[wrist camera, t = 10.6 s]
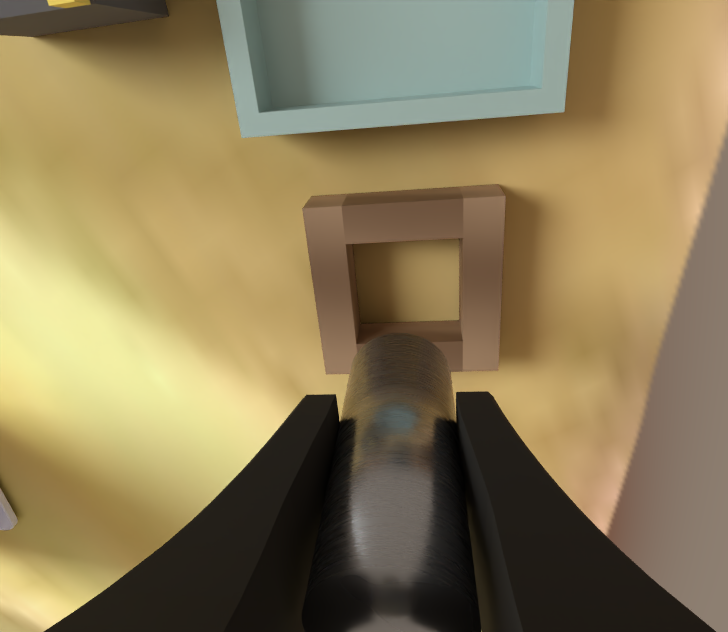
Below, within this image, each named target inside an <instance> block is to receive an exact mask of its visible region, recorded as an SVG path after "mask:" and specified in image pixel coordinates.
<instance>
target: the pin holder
mask: <svg viewBox="0 0 728 632" xmlns="http://www.w3.org/2000/svg"><path fill="white" fill-rule="evenodd" d="M505 200H506V196H505V194H504V193H503V191H502V190H501V188H500V186H499V185H498V184H495V185H479V186H464V187H448V188H433V189H417V190H402V191H386V192H371V193H355V194H340V195H325V196H311V198H310V199H309V200H308V202H307V203H306V204H305V206H304V207H303V208H302V210H303V217H304V224H305V231H306V238H307V245H308V252H309V259H310V266H311V273H312V280H313V287H314V294H315V301H316V308H317V315H318V322H319V329H320V336H321V343H322V350H323V357H324V364H325V371H326V374H350V370H351V365H352V362H353V360H354V357H355V356H356V354H357V352H358V351H359V350H360V349H361V348H362V347H363V346H364V345H365V344H366V343H368V342H369V341H371V340H372V339H374V338H377V337H379V336H382V335H385V334H390V333H408V334H413V335H417V336H420V337H422V338H425V339H427V340H428V341H430V342H432V343H433V344H434V345H436V346H437V347H438V348H439V349H440V350H441V351H442V353H443V354H444V356H445V357H446V359H447V361H448V364H449V367H450V372H459V371H498V367H499V343H500V319H501V296H502V272H503V248H504V224H505ZM455 238H459V320H458V321H428V322H398V323H368V324H360V314H359V304H358V294H357V285H356V275H355V265H354V255H353V245H352V244H360V243H379V242H398V241H417V240H436V239H455Z"/></svg>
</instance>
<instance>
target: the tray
mask: <svg viewBox="0 0 728 632" xmlns="http://www.w3.org/2000/svg"><path fill="white" fill-rule="evenodd" d="M216 2H217V8H218V13H219V19H220V24H221V29H222V35H223V40H224V45H225V51H226V56H227V62H228V67H229V72H230V78H231V83H232V88H233V94H234V99H235V105H236V110H237V115H238V121H239V126H240V131H241V137H242V138H247V137H260V136H272V135H285V134H297V133H310V132H322V131H334V130H347V129H359V128H372V127H384V126H397V125H409V124H422V123H434V122H447V121H459V120H472V119H484V118H497V117H509V116H521V115H534V114H546V113H559V112H564V110H565V99H566V88H567V76H568V65H569V54H570V42H571V31H572V20H573V8H574V0H216Z"/></svg>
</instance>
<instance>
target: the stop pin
mask: <svg viewBox="0 0 728 632" xmlns="http://www.w3.org/2000/svg"><path fill="white" fill-rule="evenodd" d="M302 625H303V628H304V631H305V632H481V621H480V612H479V604H478V596H477V588H476V579H475V571H474V563H473V554H472V546H471V538H470V530H469V521H468V513H467V505H466V496H465V488H464V480H463V472H462V465H461V459H460V450H459V442H458V434H457V425H456V414H455V405H454V397H453V389H452V380H451V372H450V367H449V364H448V361H447V359H446V357H445V356H444V354H443V353H442V351H441V350H440V349H439V348H438V347H437V346H436V345H434V344H433V343H432V342H430V341H428V340H427V339H425V338H422V337H420V336H417V335H413V334H408V333H390V334H385V335H382V336H379V337H377V338H374V339H372V340H371V341H369V342H368V343H366V344H365V345H364V346H363V347H362V348H361V349H360V350H359V351H358V352H357V354H356V356H355V357H354V360H353V362H352V365H351V370H350V375H349V380H348V385H347V390H346V395H345V400H344V405H343V410H342V415H341V420H340V425H339V430H338V435H337V440H336V445H335V450H334V455H333V460H332V465H331V470H330V475H329V480H328V485H327V490H326V495H325V500H324V505H323V510H322V515H321V520H320V525H319V530H318V535H317V540H316V545H315V550H314V554H313V559H312V564H311V569H310V574H309V579H308V584H307V589H306V594H305V599H304V604H303V609H302Z"/></svg>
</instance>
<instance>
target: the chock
mask: <svg viewBox="0 0 728 632" xmlns="http://www.w3.org/2000/svg"><path fill="white" fill-rule="evenodd" d="M167 16H169V14H168V10H167V6H166V2H165V0H0V35H8V36H27V37H34V36H40V35H47V34H54V33H60V32H67V31H74V30H80V29H87V28H94V27H100V26H107V25H114V24H120V23H127V22H134V21H140V20H147V19H154V18H160V17H167Z"/></svg>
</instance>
